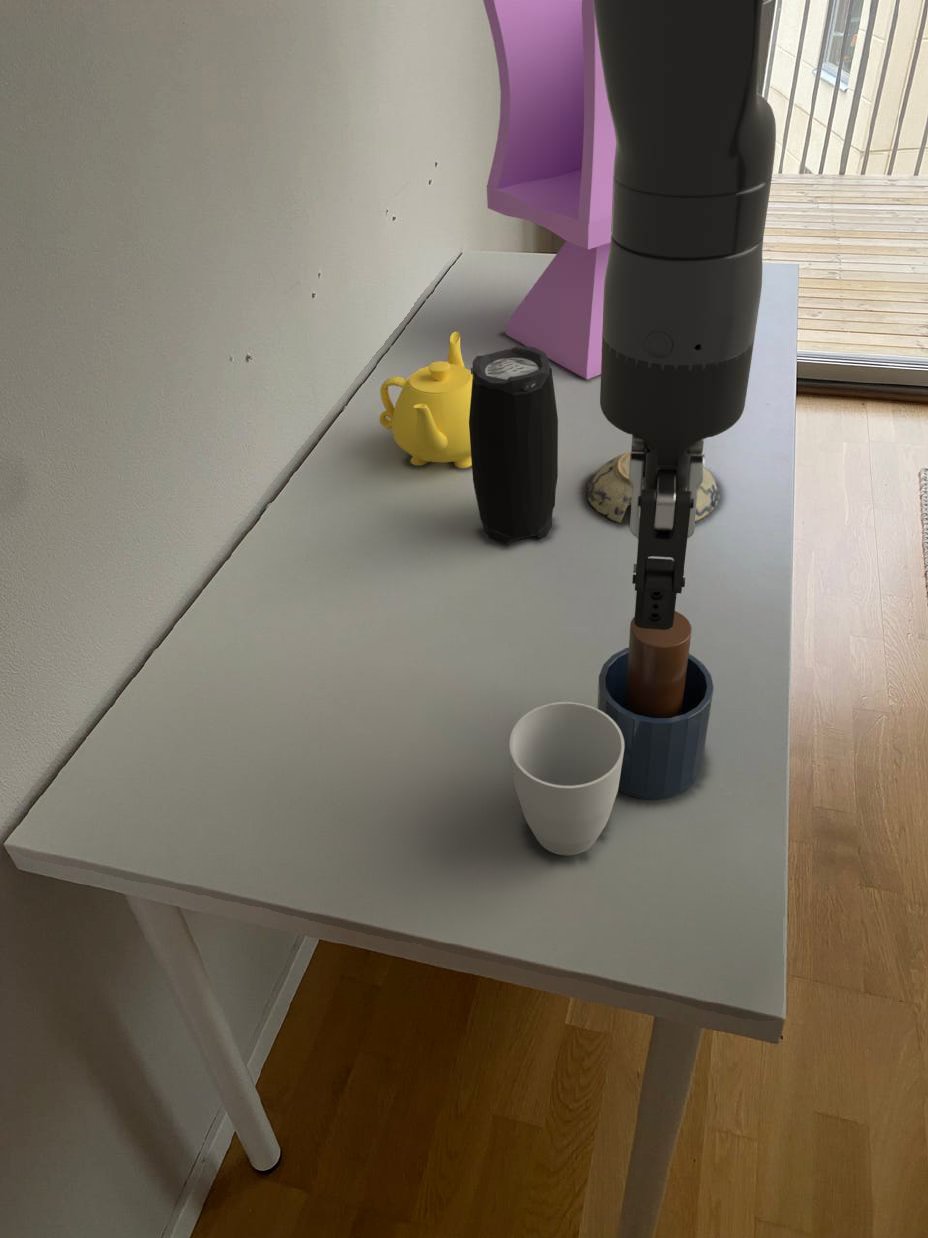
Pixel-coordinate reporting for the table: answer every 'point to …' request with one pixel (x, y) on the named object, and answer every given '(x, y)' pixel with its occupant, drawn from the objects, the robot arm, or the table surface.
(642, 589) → the robot arm
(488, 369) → the portable speaker
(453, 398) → the teapot
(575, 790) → the cup
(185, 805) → the table surface
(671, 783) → the crock
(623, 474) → the decorative bowl
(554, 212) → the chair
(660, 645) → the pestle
